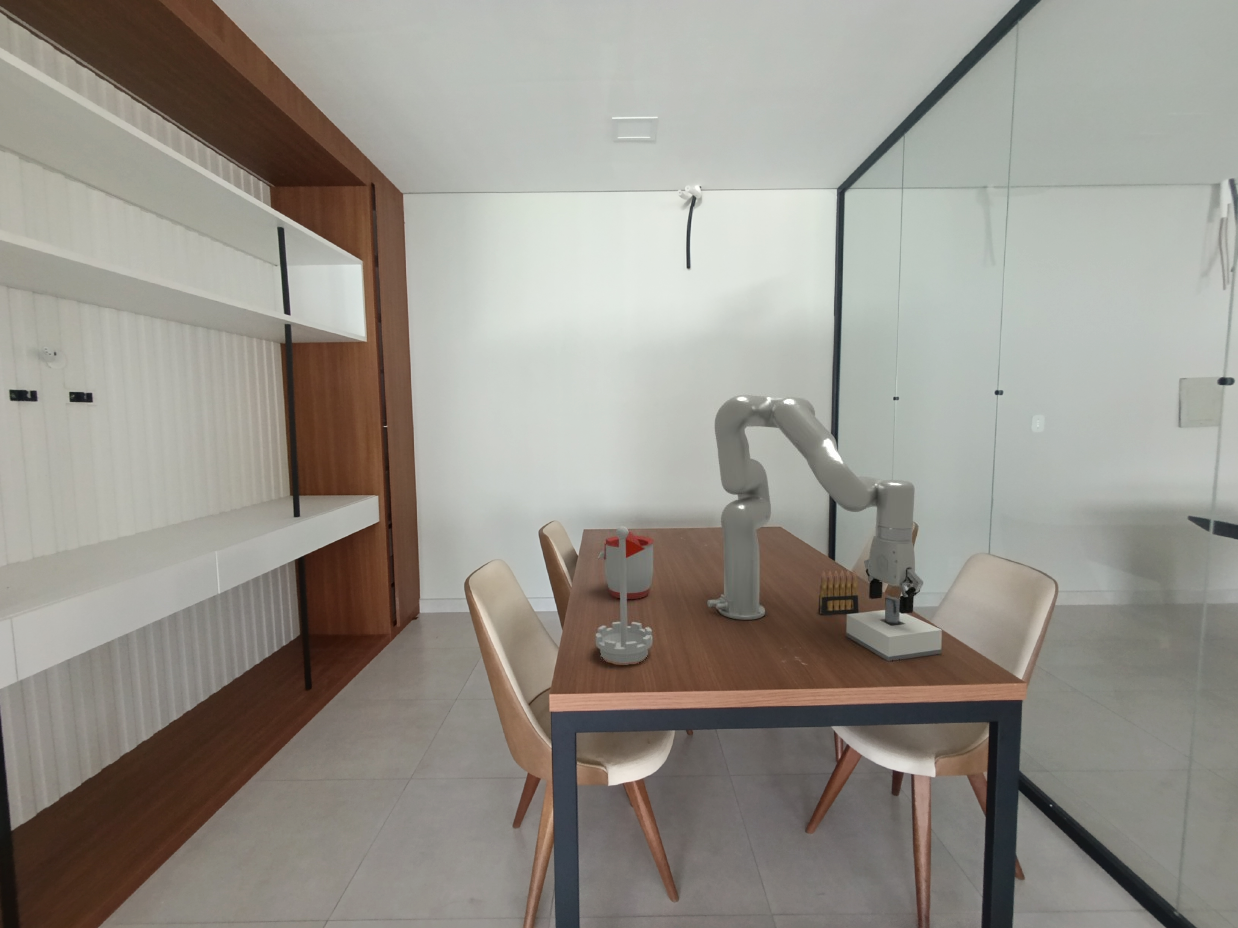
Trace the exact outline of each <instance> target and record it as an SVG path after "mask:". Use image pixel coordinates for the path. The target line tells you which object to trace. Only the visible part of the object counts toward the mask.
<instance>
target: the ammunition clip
mask: <svg viewBox="0 0 1238 928" xmlns="http://www.w3.org/2000/svg"><path fill="white" fill-rule="evenodd" d="M826 577H827V578H826ZM857 582H858V581H857V571H856V570H855V569H853V571H852V574H851V573H850V570H849V569H847V571H846V574H845V573H844V570H841V571H840V574H838V571H837V570H835V572H834V575H833V576H832V571H830V570H828V574H827V576H826V572H825V571H824V570H823V571H822V573H821V578H820V586H819V590H820V591H819V596H818V614H819V615H821V616H832V615H833V616H836V615H838V616H839V615H847V614H855V613H860V612H859V595H858V583H857Z"/></svg>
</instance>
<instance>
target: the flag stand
mask: <svg viewBox="0 0 1238 928" xmlns="http://www.w3.org/2000/svg"><path fill="white" fill-rule="evenodd" d="M629 531H630V530H629V529H628V528H627V527H626V526H624V525H621V526H618V527H617V528H616V530H615V535H616V536H617V537H618V538H619V565H620V599H619V602H620V603H619V607H620V608H619V611H620V614H619V615H620V617H619V618H620V621H613V622H612V623H611V627H608V628H607V625H601V626H599V627H598V628H597V633H595V645H596V647H597V648H598V649H599V652H600V653H601V655H600V657H601V656H602V657H603V658H605V659H607V660H610V661H613V662H619V663H629V662H630V663H631V662H637V661H640V660H642V659H644V658H645V657H647V655H648V656H649V648H651V647H652V645H653V630H652V628H651V627H650V626H647V627H644V628H643V623H640V622H636V621H632V622H631V623H630V624H631V625H628V605H627V604H628V603H627V601H628V599H627V587H626V558H627V557H630V556H632V555H634V554H636V553H638V552H640V551H642V550H644V549H645V548H643V547H641V546H639V545H637V544H635V543H633V542H631V541H629V540H627V539H626V537H627V536H628V534H629ZM647 658H648V657H647Z"/></svg>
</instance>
